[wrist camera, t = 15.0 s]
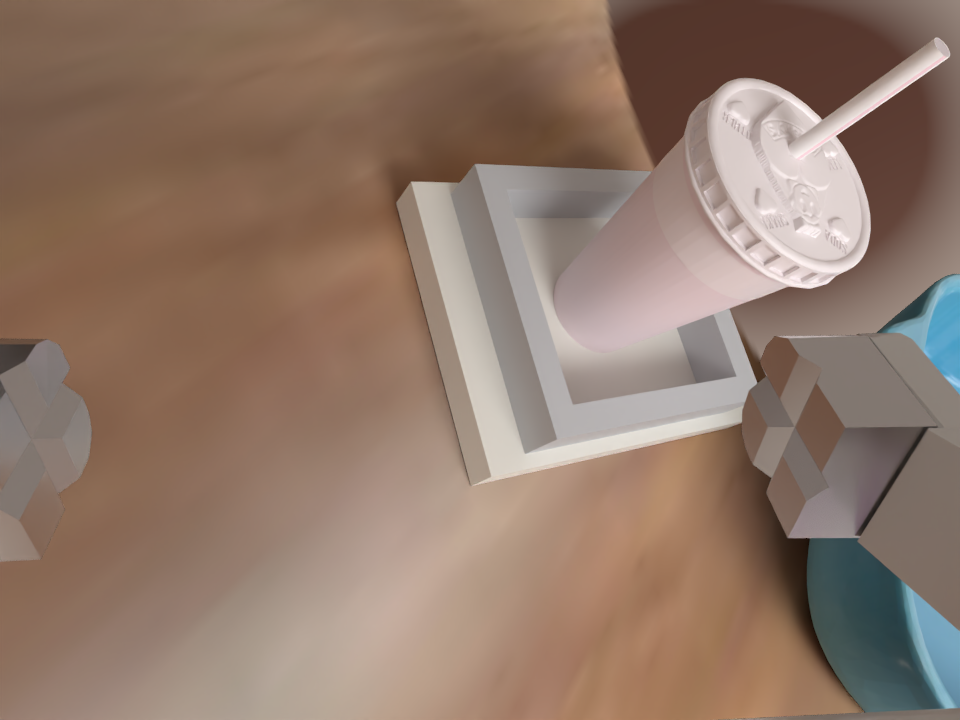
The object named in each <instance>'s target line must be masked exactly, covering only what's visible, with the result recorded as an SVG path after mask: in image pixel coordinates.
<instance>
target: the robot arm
mask: <svg viewBox="0 0 960 720" xmlns="http://www.w3.org/2000/svg"><path fill="white" fill-rule="evenodd" d="M760 364H761V366H762V368H763V370H764V372H765V374H766V377H765V378H764V379H762V380H761V381H760V382H759V383H757V384H756V385H755V386H754V387H752V388H751V389H750V390H749V392H748V395H747V398H746V401H745V404H744V407H743V410H742V436H743V440H744V444H745V449H746V451H747V453H748V455H749V457H750V460H751V462H752V464H753V465H754V466H756V467H757V468H758V469H760V470H761V471H762V472H764V473H765V474H767V475H768V476H769V477H771V478H772V479H771V481H770V484H769V487H768V489H767V492H766V494H767V496H768V498H769V500H770V502H771V504H772V506H773V509H774V511H775V513H776V515H777V517H778V519H779V521H780V523H781V525H782V527H783V529H784V531H785V533H786V536H787V538H859V539H858V541H857V542H859V543H860V544H861V545H862V546H863V547H864V548H865V549H867V550H868V551H869V552H870V553H871V554H872V555H873V556H875V557H876V558H877V559H878V560H879V561H880V562H881V563H883V564H884V565H885V566H886V567H887V568H888V569H889V570H890V571H892V572H893V573H894V574H895V575H896V576H897V577H898V578H900V579H901V580H902V581H903V582H904V583H905V584H906V585H908V586H909V587H910V588H911V589H912V590H913V591H914V592H915V593H917V594H918V595H919V596H920V597H921V598H922V599H923V600H925V601H926V602H927V603H928V604H929V605H930V606H931V607H933V608H934V609H935V610H936V611H937V612H938V613H939V614H941V615H942V616H943V617H944V618H945V619H946V620H947V621H948V622H950V623H951V624H952V625H953V626H954V627H955V628H956V629H958V630H959V631H960V395H959V393H958V392H957V391H956V390H955V389H954V387H953V386H952V385H951V384H950V383H949V382H948V380H947V379H946V378H945V377H944V376H943V375H942V373H941V372H940V371H939V370H938V369H937V368H936V366H935V365H934V364H933V363H932V362H931V361H930V359H929V358H928V357H927V356H926V355H925V353H924V352H923V351H922V350H921V349H920V348H919V346H918V345H917V344H916V343H915V342H914V341H913V339H911V338H909V337H907V336H905V335H903V334H901V333H872V334H857V335H834V336H833V335H828V336H775V337H774V338H773V339H772V340H771V341H770V342H769V343H768V345H767V346H766V348H765V351H764V353H763V355H762V358H761V360H760ZM69 370H70V366H69V364H68V362H67V360H66V358H65V356H64V354H63V352H62V349H61V347H60V345H58V344H56V343H54V342H52V341H50V340H48V339H0V561H19V560H37V559H42V558H43V555H44V553H45V551H46V549H47V547H48V545H49V543H50V541H51V538H52V536H53V534H54V532H55V530H56V528H57V526H58V524H59V522H60V519H61V517H62V515H63V513H64V511H65V507H64V505H63V503H62V501H61V499H60V496H59V494H58V493H60V492H61V491H62V490H64V489H65V488H67V487H68V486H69V485H71V484H72V483H73V482H75V481H76V480H77V479H79V478H80V477H81V474H82V472H83V470H84V467H85V465H86V463H87V460H88V458H89V452H90V445H91V437H92V429H91V423H90V416H89V412H88V410H87V407H86V405H85V402H84V400H83V398H82V397H81V396H80V395H78V394H77V393H75V392H74V391H73V390H71V389H70V388H69V387H67V386H66V385H64V384H63V383H62V382H63V381H64V379H65V377H66V375H67V373H68V371H69ZM720 720H960V708H947V709H927V710H907V711H886V712H866V713H845V714H825V715H804V716H783V717H762V718H741V719H720Z"/></svg>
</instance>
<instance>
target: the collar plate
mask: <svg viewBox="0 0 960 720" xmlns="http://www.w3.org/2000/svg"><path fill="white" fill-rule="evenodd" d="M651 172H652V171H628V170H605V169H582V168H559V167H536V166H513V165H489V164H474V166H473V167H472V168H471V169H470V171H469V172H468V173H467V174H466V176H465V177H464V178H463V179H462V181H461V182H460V183H446V182H410V184H409V185H408V187H407V188H406V189H405V191H404V192H403V194H402V195H401V197H400V198H399V200H398V201H397V202H396V205H397V209H398V212H399V216H400V220H401V224H402V227H403V231H404V235H405V239H406V243H407V246H408V250H409V254H410V258H411V261H412V265H413V269H414V273H415V277H416V280H417V284H418V288H419V292H420V295H421V299H422V303H423V307H424V311H425V314H426V318H427V322H428V326H429V330H430V333H431V337H432V341H433V345H434V348H435V352H436V356H437V360H438V364H439V367H440V371H441V375H442V379H443V382H444V386H445V390H446V394H447V398H448V401H449V405H450V409H451V413H452V416H453V420H454V424H455V428H456V432H457V435H458V439H459V443H460V447H461V450H462V454H463V458H464V462H465V466H466V469H467V473H468V477H469V481H470V484H471V486H474V485H478V484H482V483H487V482H491V481H496V480H500V479H505V478H509V477H513V476H518V475H522V474H527V473H531V472H536V471H540V470H544V469H549V468H553V467H558V466H562V465H567V464H571V463H575V462H580V461H584V460H589V459H593V458H598V457H602V456H606V455H611V454H615V453H620V452H624V451H629V450H633V449H637V448H642V447H646V446H651V445H655V444H660V443H664V442H669V441H673V440H677V439H682V438H686V437H691V436H695V435H700V434H704V433H708V432H713V431H717V430H722V429H726V428H729V427H732V426H735V425H738V424H740V423H742V410H743V407H744V404H745V401H746V398H747V395H748V392H749V390H750V389H751V388H752V387H754V386H755V385H756V384H757V381H756V378H755V376H754V373H753V370H752V368H751V365H750V362H749V360H748V357H747V354H746V352H745V349H744V346H743V344H742V341H741V338H740V336H739V333H738V330H737V328H736V325H735V322H734V320H733V317H732V315H731V312H730V309H726V310H724V311H721V312H718V313H716V314H713V315H710V316H707V317H705V318H702V319H699V320H697V321H694V322H691V323H688V324H686V325H683V326H680V327H678V328H675V329H672V330H670V331H667V332H664V333H661V334H659V335H656V336H653V337H651V338H648V339H645V340H642V341H640V342H637V343H634V344H632V345H629V346H626V347H623V348H621V349H618V350H615V351H612V352H608V353H600V352H595V351H592V350H589V349H587V348H585V347H583V346H581V345H580V344H578V343H577V342H576V341H575V340H574V339H573V338H572V337H571V336H570V335H569V334H568V333H567V332H566V330H565V329H564V328H563V326H562V324H561V323H560V321H559V319H558V316H557V314H556V310H555V306H554V296H553V295H554V287H555V284H556V282H557V280H558V278H559V276H560V275H561V274H562V273H563V272H564V271H565V269H566V268H567V267H568V266H569V265H570V264H571V263H572V262H573V260H574V259H575V258H576V257H577V256H578V255H579V254H580V253H581V251H582V250H583V249H584V248H585V247H586V246H587V245H588V244H589V242H590V241H591V240H592V239H593V238H594V237H595V236H596V234H597V233H598V232H599V231H600V230H601V229H602V228H603V227H604V225H605V224H606V223H607V222H608V221H609V220H610V219H611V218H612V216H613V215H614V214H615V213H616V212H617V211H618V210H619V209H620V207H621V206H622V205H623V204H624V203H625V202H626V201H627V200H628V198H629V197H630V196H631V195H632V194H633V193H634V192H635V190H636V189H637V188H638V187H639V186H640V185H641V184H642V183H643V181H644V180H645V179H646V178H647V177H648V176H649V175H650V174H651Z"/></svg>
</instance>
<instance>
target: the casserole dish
mask: <svg viewBox="0 0 960 720" xmlns="http://www.w3.org/2000/svg"><path fill="white" fill-rule="evenodd" d="M877 333H901V334H903V335H905V336H907V337H909V338H911V339H913V341H914V342H915V343H916V344H917V345H918V346H919V348H920V349H921V350H922V351H923V352H924V353H925V355H926V356H927V357H928V358H929V359H930V361H931V362H932V363H933V364H934V365H935V366H936V368H937V369H938V370H939V371H940V372H941V373H942V375H943V376H944V377H945V378H946V379H947V380H948V382H949V383H950V384H951V385H952V386H953V387H954V389H955V390H956V391H957V392H958V393H959V395H960V274H952V275H948V276H945V277H944V278H942V279H940V280H938V281H937V282H935V283H934V284H933V285H932V286H930V287H929V288H928V289H927V290H926V291H925V292H924V293H922V294H921V295H920V296H919V297H918V298H917V299H916V300H915V301H913V302H912V303H911V304H910V305H908V306H907V307H906V308H905V309H904V310H902V311H901V312H900V313H899V314H898V315H896V316H895V317H894V318H893V319H892V320H891V321H889V322H888V323H887V324H886V325H885V326H884V327H883V328H882V329H880V330H879V331H878V332H877ZM858 539H859V538H810V541H809V549H808V559H807V592H808V602H809V607H810V613H811V618H812V622H813V626H814V629H815V632H816V635H817V637H818V640H819V643H820V645H821V647H822V649H823V651H824V653H825V656H826V658H827V660H828V662H829V663H830V665H831V667H832V669H833V670H834V672H835V674H836V675H837V677H838V678H839V680H840V681H841V682H842V684H843V685H844V687H845V688H846V690H847V691H848V692H849V694H850V695H851V696H852V697H853V698H854V700H855V701H856V702H857V703H858V704H859V705H860V707H861V708H862V709H863V710H864V711H865V713H866V712H886V711H907V710H927V709H947V708H960V631H959V630H958V629H956V628H955V627H954V626H953V625H952V624H951V623H950V622H948V621H947V620H946V619H945V618H944V617H943V616H942V615H941V614H939V613H938V612H937V611H936V610H935V609H934V608H933V607H931V606H930V605H929V604H928V603H927V602H926V601H925V600H923V599H922V598H921V597H920V596H919V595H918V594H917V593H915V592H914V591H913V590H912V589H911V588H910V587H909V586H908V585H906V584H905V583H904V582H903V581H902V580H901V579H900V578H898V577H897V576H896V575H895V574H894V573H893V572H892V571H890V570H889V569H888V568H887V567H886V566H885V565H884V564H883V563H881V562H880V561H879V560H878V559H877V558H876V557H875V556H873V555H872V554H871V553H870V552H869V551H868V550H867V549H865V548H864V547H863V546H862V545H861V544H860V543H859V542H857V541H858Z"/></svg>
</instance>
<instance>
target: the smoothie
mask: <svg viewBox="0 0 960 720" xmlns="http://www.w3.org/2000/svg"><path fill="white" fill-rule="evenodd" d="M949 57H950V52H949V49H948V47H947V46H946V45H945V43H944V42H943V41H942V40H940V39H939V38H935V39H933V40H932V41H931V42H930V43H928V44H927V45H925V46H924V47H922V48H921V49H920V50H919V51H917V52H916V53H914V54H913V55H911V56H910V57H909V58H907V59H906V60H905V61H903V62H902V63H900V64H899V65H898V66H896V67H895V68H894V69H892V70H891V71H890V72H888V73H887V74H885V75H884V76H883V77H881V78H880V79H878V80H877V81H876V82H875V83H873V84H872V85H870V86H869V87H867V88H866V89H865V90H863V91H862V92H861V93H859V94H858V95H856V96H855V97H854V98H852V99H851V100H849V101H848V102H847V103H845V104H844V105H843V106H841V107H840V108H839V109H837V110H836V111H834V112H833V113H832V114H830V115H829V116H828V117H826V118H825V119H823V120H822V119H821V118H820V117H819V116H818V115H817V114H816V113H815V112H814V111H813V110H812V109H811V108H809V107H808V106H807V105H806V104H805V103H804V102H802V101H801V100H800V99H798V98H797V97H795V96H794V95H793V94H791V93H790V92H788V91H786V90H784V89H782V88H780V87H779V86H776V85H774V84H771V83H769V82H766V81H763V80H757V79H751V78H742V79H735V80H732V81H729V82H727V83H726V84H724V85H723V86H721V87H720V88H719V89H718V90H717V91H716V92H715V93H714V94H713V95H712V96H710V97H709V98H708V99H706V100H704V101H702V102H700V103H699V105H698V106H697V107H696V108H695V110H694V111H693V112H692V113H691V115H690V116H689V119H688V123H687V126H686V130H685V134H684V137H683V138H682V139H681V140H680V141H679V142H678V143H677V144H676V145H675V147H673V149H672V150H671V151H670V152H669V153H668V154H667V155H666V156H665V157H664V158H663V159H662V161H661V162H660V164H659V165H658V166H657V167H656V168H655V169H654V170H653V171H652V172H651V174H650V175H649V176H648V177H647V178H646V179H645V180H644V181H643V183H642V184H641V185H640V186H639V187H638V188H637V189H636V190H635V192H634V193H633V194H632V195H631V196H630V197H629V198H628V200H627V201H626V202H625V203H624V204H623V205H622V206H621V207H620V209H619V210H618V211H617V212H616V213H615V214H614V215H613V216H612V218H611V219H610V220H609V221H608V222H607V223H606V224H605V225H604V227H603V228H602V229H601V230H600V231H599V232H598V233H597V234H596V236H595V237H594V238H593V239H592V240H591V241H590V242H589V244H588V245H587V246H586V247H585V248H584V249H583V250H582V251H581V253H580V254H579V255H578V256H577V257H576V258H575V259H574V260H573V262H572V263H571V264H570V265H569V266H568V267H567V268H566V269H565V271H564V272H563V273H562V274H561V275H560V276H559V278H558V280H557V282H556V284H555V287H554V295H553V296H554V306H555V310H556V314H557V316H558V319H559V321H560V323H561V324H562V326H563V328H564V329H565V330H566V332H567V333H568V334H569V335H570V336H571V337H572V338H573V339H574V340H575V341H576V342H577V343H578V344H580V345H581V346H583V347H585V348H587V349H589V350H592V351H595V352H600V353H608V352H612V351H615V350H618V349H621V348H623V347H626V346H629V345H632V344H634V343H637V342H640V341H642V340H645V339H648V338H651V337H653V336H656V335H659V334H661V333H664V332H667V331H670V330H672V329H675V328H678V327H680V326H683V325H686V324H688V323H691V322H694V321H697V320H699V319H702V318H705V317H707V316H710V315H713V314H716V313H718V312H721V311H724V310H726V309H729V308H732V307H735V306H737V305H740V304H743V303H745V302H748V301H751V300H754V299H757V298H760V297H763V296H765V295H768V294H771V293H773V292H776V291H778V290H781V289H783V288H786V287H798V288H806V289H811V288H815V287H818V286H822V285H825V284H828V283H829V282H830V281H831V280H832V279H833V278H834V277H835V276H837V275H839V274H841V273H843V272H845V271H847V270H849V269H851V268H853V267H854V266H855V265H857V264H858V263H859V261H860V260H861V259H862V257H863V256H864V254H865V252H866V249H867V247H868V243H869V238H870V232H871V229H870V228H871V226H870V211H869V206H868V201H867V197H866V194H865V190H864V187H863V184H862V182H861V179H860V177H859V175H858V172H857V171H856V168H855V166H854V164H853V162H852V160H851V159H850V157H849V155H848V153H847V152H846V150H845V148H844V147H843V145H842V144H841V143H840V141H839V140H838V138H837V137H836V135H838V134H839V133H841V132H842V131H843V130H845V129H846V128H848V127H849V126H851V125H852V124H853V123H855V122H856V121H858V120H859V119H861V118H862V117H864V116H865V115H866V114H868V113H869V112H871V111H872V110H874V109H875V108H877V107H878V106H879V105H881V104H882V103H884V102H885V101H887V100H888V99H889V98H891V97H892V96H894V95H895V94H897V93H898V92H900V91H901V90H902V89H904V88H905V87H907V86H908V85H910V84H911V83H913V82H914V81H916V80H917V79H918V78H920V77H921V76H923V75H924V74H926V73H927V72H929V71H930V70H931V69H933V68H934V67H936V66H937V65H939V64H940V63H942V62H943V61H944V60H946V59H947V58H949Z"/></svg>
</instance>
